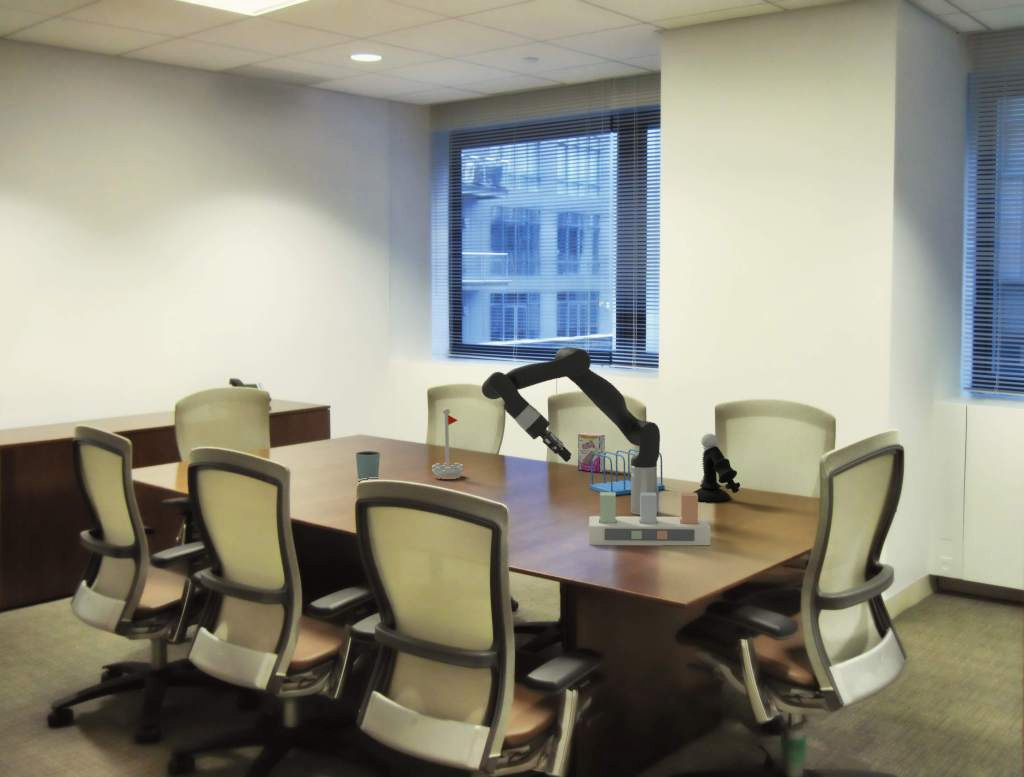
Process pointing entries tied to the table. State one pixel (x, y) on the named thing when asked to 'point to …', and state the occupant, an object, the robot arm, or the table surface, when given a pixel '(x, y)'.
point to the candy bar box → (591, 451)
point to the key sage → (607, 507)
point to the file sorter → (617, 486)
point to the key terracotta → (689, 508)
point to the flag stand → (447, 453)
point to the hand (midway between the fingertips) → (569, 458)
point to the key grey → (648, 508)
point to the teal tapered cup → (367, 464)
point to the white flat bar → (648, 532)
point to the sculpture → (711, 465)
